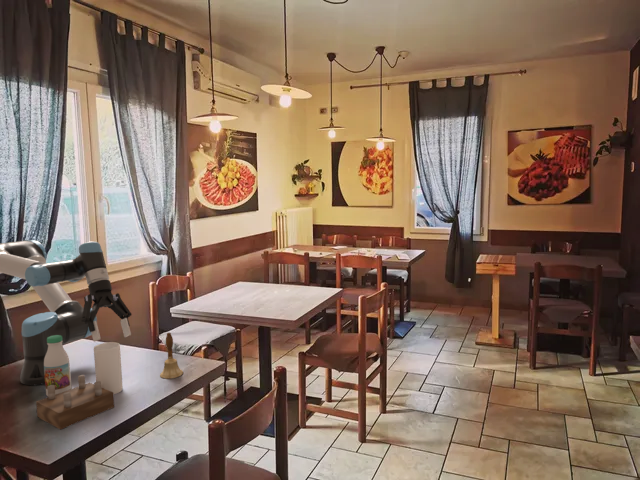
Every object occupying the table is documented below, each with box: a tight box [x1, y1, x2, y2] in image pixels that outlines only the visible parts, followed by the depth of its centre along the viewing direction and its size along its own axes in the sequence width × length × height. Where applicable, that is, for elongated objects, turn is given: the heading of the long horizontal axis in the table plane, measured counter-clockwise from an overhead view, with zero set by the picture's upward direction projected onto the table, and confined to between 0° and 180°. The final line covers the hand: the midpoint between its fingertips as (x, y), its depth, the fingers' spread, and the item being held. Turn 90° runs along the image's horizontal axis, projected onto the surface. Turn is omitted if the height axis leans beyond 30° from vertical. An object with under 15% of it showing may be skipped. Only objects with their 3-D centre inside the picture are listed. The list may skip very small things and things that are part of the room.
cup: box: [93, 341, 124, 396], centre depth 166 cm, size 8×8×16 cm
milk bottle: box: [44, 335, 72, 397], centre depth 165 cm, size 8×8×20 cm
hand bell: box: [159, 332, 184, 380], centre depth 180 cm, size 8×8×16 cm
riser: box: [35, 374, 115, 431], centre depth 151 cm, size 14×17×9 cm
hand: (113, 338), depth 172 cm, fingers open, 13 cm apart
